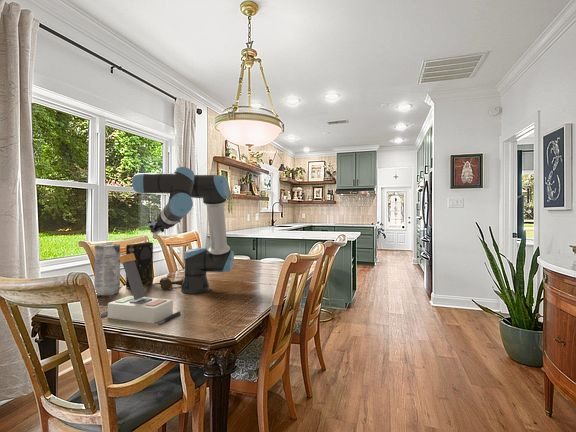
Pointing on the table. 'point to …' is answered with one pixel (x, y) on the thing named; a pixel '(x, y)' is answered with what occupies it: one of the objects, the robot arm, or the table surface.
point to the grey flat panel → (158, 321)
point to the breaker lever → (132, 275)
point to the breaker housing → (140, 309)
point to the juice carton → (107, 269)
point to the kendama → (168, 283)
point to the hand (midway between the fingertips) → (154, 232)
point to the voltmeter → (142, 261)
